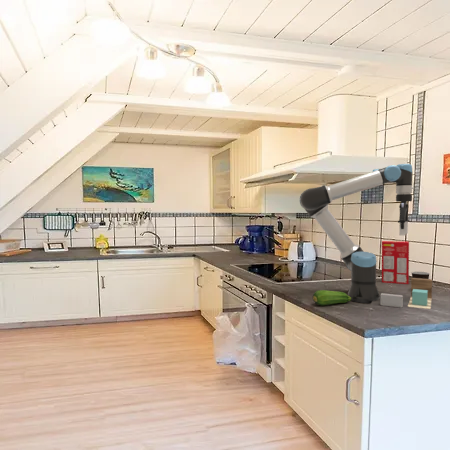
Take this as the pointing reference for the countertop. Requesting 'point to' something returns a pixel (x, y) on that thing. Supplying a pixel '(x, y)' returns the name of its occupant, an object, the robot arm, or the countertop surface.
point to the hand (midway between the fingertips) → (403, 234)
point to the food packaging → (395, 262)
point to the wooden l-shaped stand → (421, 285)
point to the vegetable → (330, 297)
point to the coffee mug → (420, 275)
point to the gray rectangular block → (391, 300)
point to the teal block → (419, 297)
